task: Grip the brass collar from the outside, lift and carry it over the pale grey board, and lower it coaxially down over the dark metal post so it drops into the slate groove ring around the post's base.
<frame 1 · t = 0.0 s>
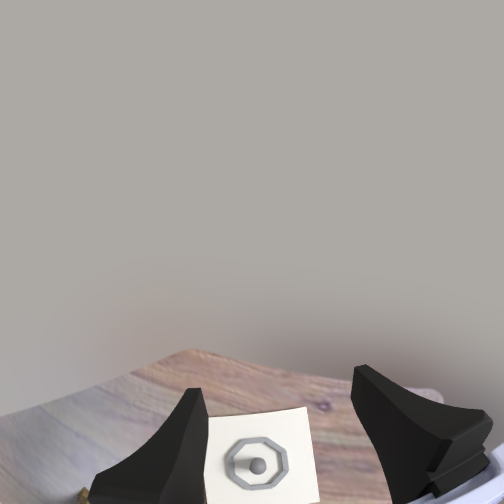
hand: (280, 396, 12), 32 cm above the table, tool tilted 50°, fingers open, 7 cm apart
post board: (258, 462, 34), on the table
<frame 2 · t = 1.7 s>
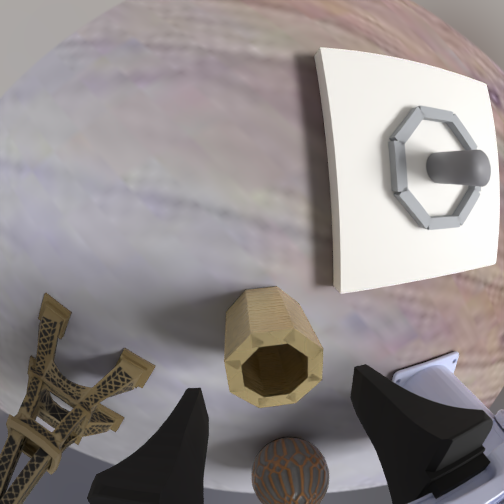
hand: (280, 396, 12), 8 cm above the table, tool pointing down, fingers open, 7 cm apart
post board: (425, 168, 18), on the table
eiffel tower: (82, 370, 21), on the table
collar: (264, 321, 20), on the table
vase: (284, 447, 24), on the table
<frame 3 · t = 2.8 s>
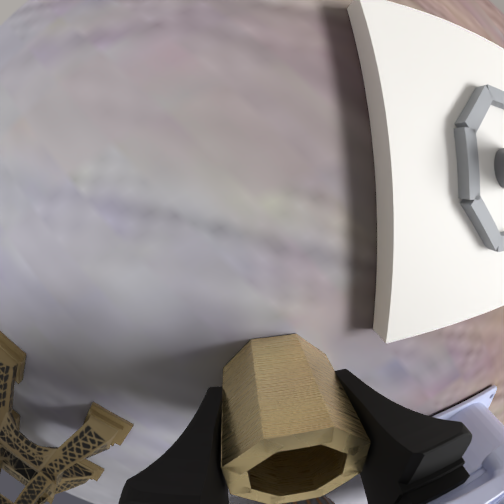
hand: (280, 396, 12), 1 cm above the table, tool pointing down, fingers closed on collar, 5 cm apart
post board: (486, 167, 12), on the table
eiffel tower: (49, 417, 14), on the table
collar: (276, 378, 14), on the table, touching gripper
vase: (294, 498, 17), on the table
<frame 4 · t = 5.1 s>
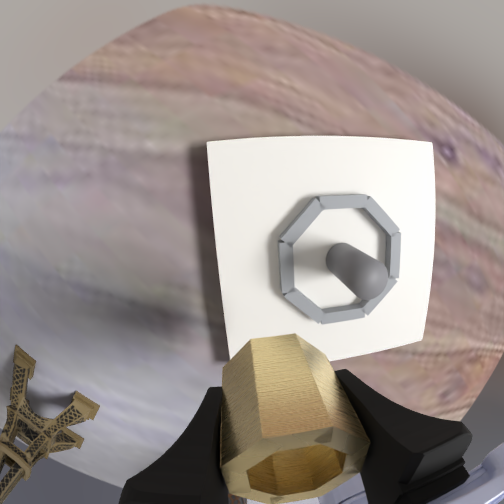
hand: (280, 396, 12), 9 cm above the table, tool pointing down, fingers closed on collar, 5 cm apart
post board: (334, 253, 20), on the table
eiffel tower: (49, 401, 22), on the table
collar: (275, 378, 14), point 8 cm above the table, touching gripper
vase: (215, 474, 26), on the table
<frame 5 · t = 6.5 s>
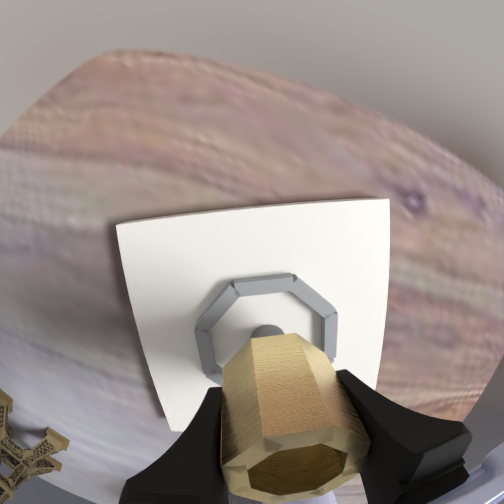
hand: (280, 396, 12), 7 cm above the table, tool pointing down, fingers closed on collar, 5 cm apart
post board: (265, 328, 19), on the table
eiffel tower: (29, 431, 21), on the table
collar: (276, 377, 14), point 5 cm above the table, touching gripper
when the fingers open (5 cm above the table, at t = 7.4 s): collar drops 2 cm, resting on post board.
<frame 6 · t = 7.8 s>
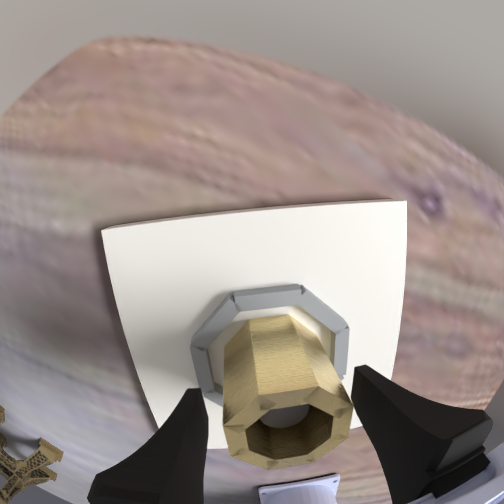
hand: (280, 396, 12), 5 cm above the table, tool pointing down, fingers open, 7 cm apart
post board: (268, 343, 17), on the table
eiffel tower: (22, 441, 19), on the table
collar: (272, 356, 15), point 1 cm above the table, touching post board
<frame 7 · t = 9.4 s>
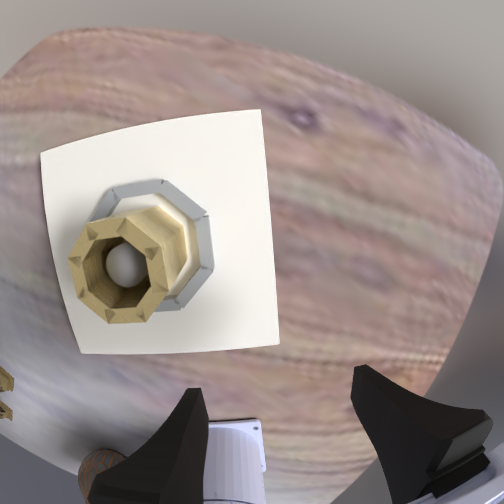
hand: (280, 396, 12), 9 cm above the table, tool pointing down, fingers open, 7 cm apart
post board: (154, 242, 20), on the table
collar: (148, 246, 18), point 1 cm above the table, touching post board
vase: (114, 457, 25), on the table
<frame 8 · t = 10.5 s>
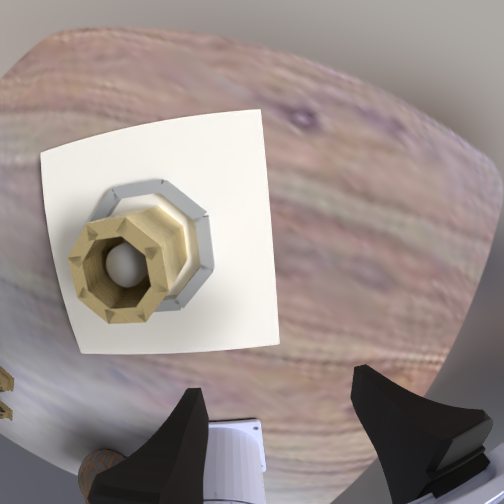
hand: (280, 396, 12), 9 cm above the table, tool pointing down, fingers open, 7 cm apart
post board: (154, 242, 20), on the table
collar: (148, 246, 18), point 1 cm above the table, touching post board
vase: (114, 457, 25), on the table
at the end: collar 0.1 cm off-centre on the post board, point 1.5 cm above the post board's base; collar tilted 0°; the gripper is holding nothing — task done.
